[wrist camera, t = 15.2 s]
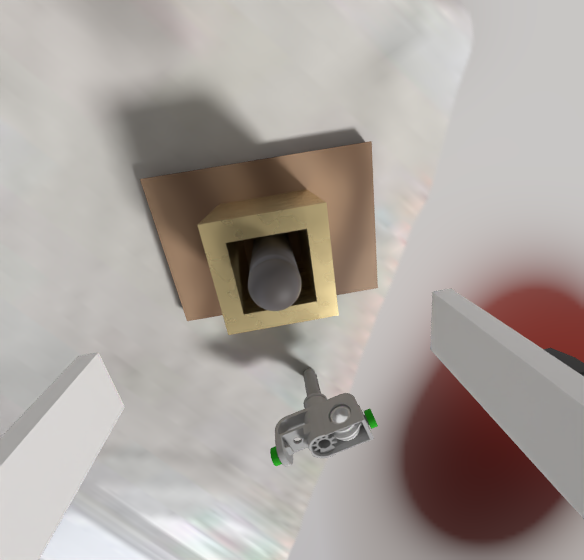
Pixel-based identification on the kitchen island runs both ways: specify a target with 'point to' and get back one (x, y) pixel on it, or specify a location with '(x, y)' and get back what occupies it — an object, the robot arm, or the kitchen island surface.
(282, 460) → the mechanical component
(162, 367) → the kitchen island surface
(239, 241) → the hollow square tube
